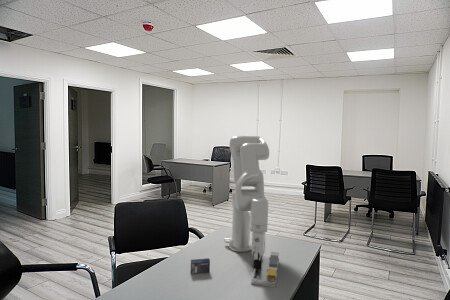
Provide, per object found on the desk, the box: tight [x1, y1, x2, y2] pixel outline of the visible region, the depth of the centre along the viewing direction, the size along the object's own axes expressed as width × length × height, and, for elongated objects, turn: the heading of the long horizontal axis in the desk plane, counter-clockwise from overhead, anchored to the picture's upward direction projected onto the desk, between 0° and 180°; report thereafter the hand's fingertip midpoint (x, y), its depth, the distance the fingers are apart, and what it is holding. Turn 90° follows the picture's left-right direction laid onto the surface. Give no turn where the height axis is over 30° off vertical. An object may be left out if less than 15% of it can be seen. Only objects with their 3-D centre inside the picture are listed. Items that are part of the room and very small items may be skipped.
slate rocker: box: [268, 251, 280, 267], centre depth 139 cm, size 4×9×1 cm, turn 167°
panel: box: [250, 255, 280, 288], centre depth 133 cm, size 10×24×4 cm, turn 167°
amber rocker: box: [267, 267, 278, 276], centre depth 127 cm, size 4×9×1 cm, turn 167°
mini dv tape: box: [190, 257, 211, 275], centre depth 131 cm, size 8×2×6 cm, turn 105°
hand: (257, 268), depth 130 cm, fingers closed
